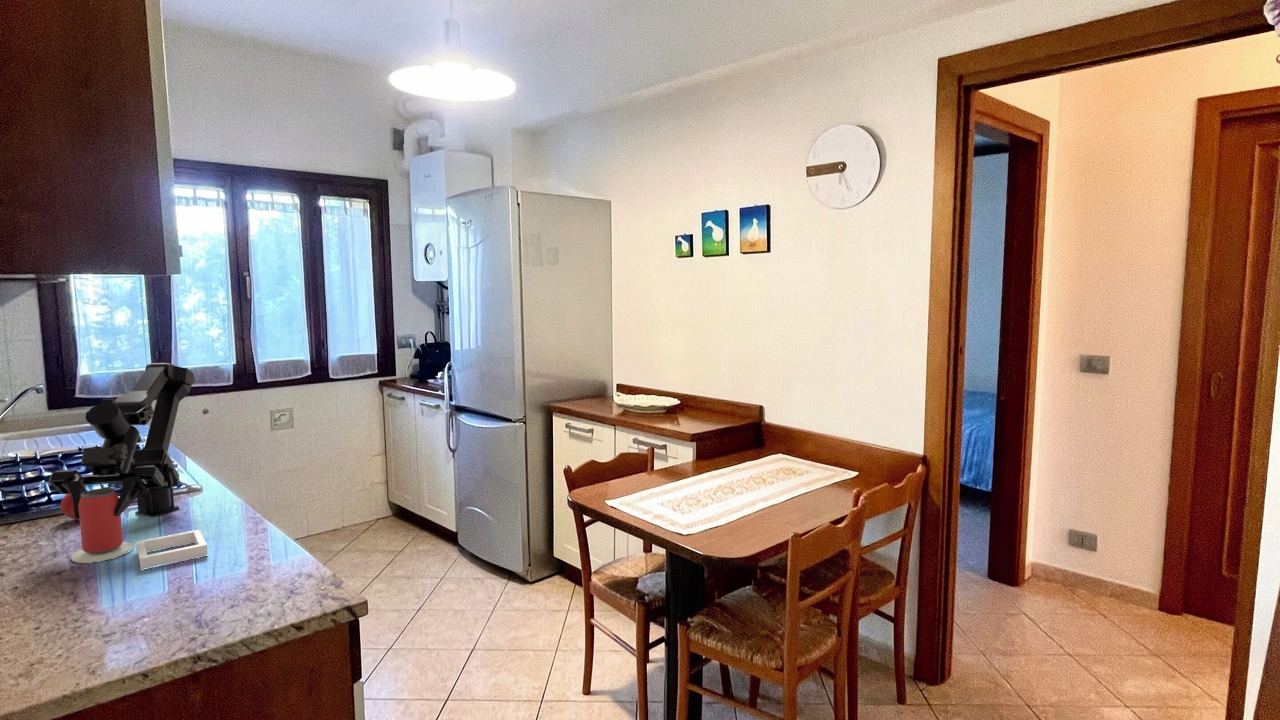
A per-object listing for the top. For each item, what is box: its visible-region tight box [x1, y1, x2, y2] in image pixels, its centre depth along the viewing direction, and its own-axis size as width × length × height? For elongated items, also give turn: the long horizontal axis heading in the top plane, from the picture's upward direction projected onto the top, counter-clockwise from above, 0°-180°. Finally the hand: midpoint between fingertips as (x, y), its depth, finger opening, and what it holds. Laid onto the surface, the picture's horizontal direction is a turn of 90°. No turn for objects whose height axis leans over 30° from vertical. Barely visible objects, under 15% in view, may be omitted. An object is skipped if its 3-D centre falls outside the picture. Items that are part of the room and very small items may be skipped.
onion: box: [59, 494, 80, 521], centre depth 158 cm, size 6×6×8 cm
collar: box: [135, 529, 209, 570], centre depth 138 cm, size 11×11×2 cm
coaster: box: [71, 541, 134, 564], centre depth 139 cm, size 10×10×1 cm
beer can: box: [78, 487, 124, 554], centre depth 138 cm, size 7×7×12 cm
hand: (96, 516), depth 137 cm, fingers closed on beer can, 6 cm apart
